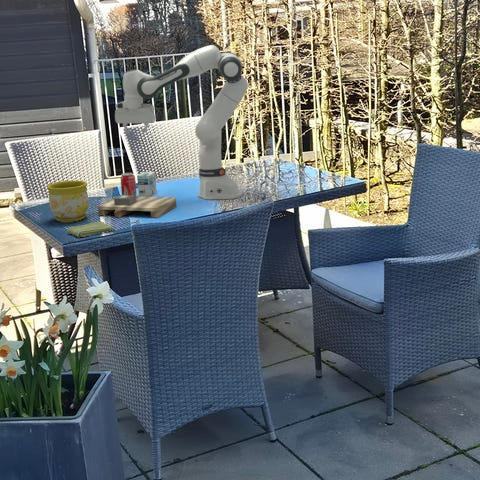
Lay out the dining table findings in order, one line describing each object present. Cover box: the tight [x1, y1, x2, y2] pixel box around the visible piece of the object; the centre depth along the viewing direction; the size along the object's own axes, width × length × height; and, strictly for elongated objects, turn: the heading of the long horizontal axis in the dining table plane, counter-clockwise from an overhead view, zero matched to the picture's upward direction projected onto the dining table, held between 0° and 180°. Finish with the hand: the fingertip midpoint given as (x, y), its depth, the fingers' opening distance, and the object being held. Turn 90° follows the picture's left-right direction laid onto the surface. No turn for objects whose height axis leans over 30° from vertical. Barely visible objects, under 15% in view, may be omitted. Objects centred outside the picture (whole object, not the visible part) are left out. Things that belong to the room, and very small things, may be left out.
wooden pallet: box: [97, 195, 177, 219], centre depth 368 cm, size 30×26×4 cm
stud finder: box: [113, 194, 137, 205], centre depth 364 cm, size 8×7×3 cm
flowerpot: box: [46, 179, 90, 223], centre depth 357 cm, size 18×18×16 cm
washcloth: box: [66, 221, 115, 239], centre depth 334 cm, size 13×18×3 cm
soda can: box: [120, 172, 138, 196], centre depth 373 cm, size 7×7×12 cm
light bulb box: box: [136, 171, 157, 197], centre depth 403 cm, size 11×7×11 cm, turn 168°
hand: (136, 132), depth 381 cm, fingers open, 8 cm apart
